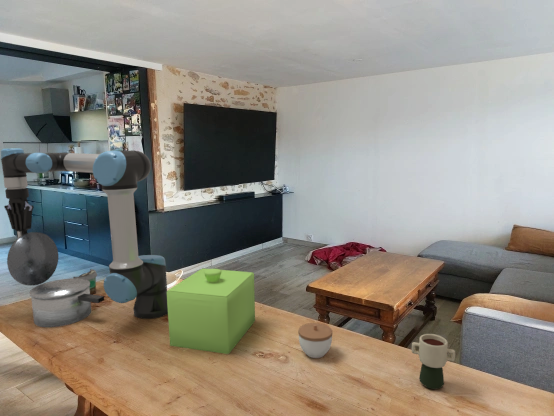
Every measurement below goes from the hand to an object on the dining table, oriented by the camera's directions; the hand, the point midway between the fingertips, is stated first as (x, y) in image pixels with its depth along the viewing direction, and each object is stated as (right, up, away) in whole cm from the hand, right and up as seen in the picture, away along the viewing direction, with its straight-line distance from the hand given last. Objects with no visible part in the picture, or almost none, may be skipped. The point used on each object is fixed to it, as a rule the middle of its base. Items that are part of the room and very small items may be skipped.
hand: (23, 246), depth 155 cm
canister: (+80, -29, -17) cm, 87 cm away
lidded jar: (+114, -31, -32) cm, 122 cm away
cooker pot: (+21, -28, -3) cm, 35 cm away
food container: (+16, -24, +22) cm, 36 cm away
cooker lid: (+6, -5, -1) cm, 7 cm away
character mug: (+144, -33, -49) cm, 156 cm away
